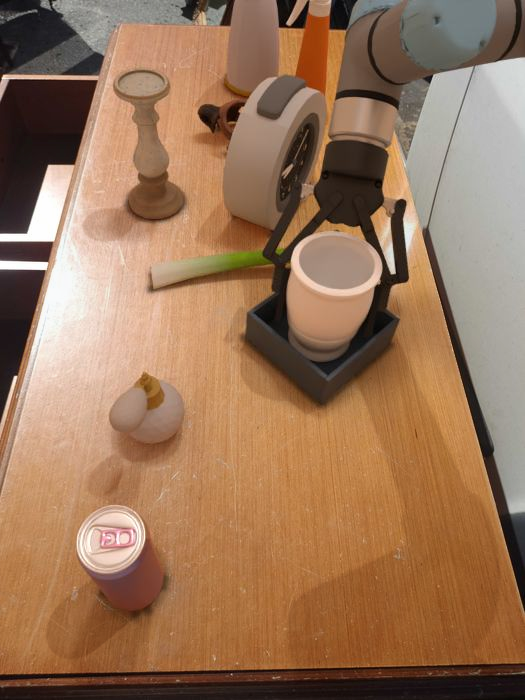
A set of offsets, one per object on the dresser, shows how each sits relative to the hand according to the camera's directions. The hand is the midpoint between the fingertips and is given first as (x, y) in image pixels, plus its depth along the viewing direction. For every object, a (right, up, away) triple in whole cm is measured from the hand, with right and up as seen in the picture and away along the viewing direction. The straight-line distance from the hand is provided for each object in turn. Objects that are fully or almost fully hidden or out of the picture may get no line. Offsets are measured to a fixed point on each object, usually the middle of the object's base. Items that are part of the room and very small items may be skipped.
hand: (322, 328), depth 70 cm
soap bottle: (-10, +51, +44) cm, 68 cm away
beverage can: (-21, -27, -12) cm, 36 cm away
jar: (0, -1, +7) cm, 7 cm away
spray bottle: (-1, +41, +37) cm, 56 cm away
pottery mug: (-13, +36, +33) cm, 50 cm away
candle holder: (-25, +21, +22) cm, 39 cm away
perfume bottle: (-20, -13, -2) cm, 24 cm away
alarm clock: (-6, +22, +24) cm, 33 cm away
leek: (-9, +9, +14) cm, 18 cm away
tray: (0, -2, +7) cm, 7 cm away
